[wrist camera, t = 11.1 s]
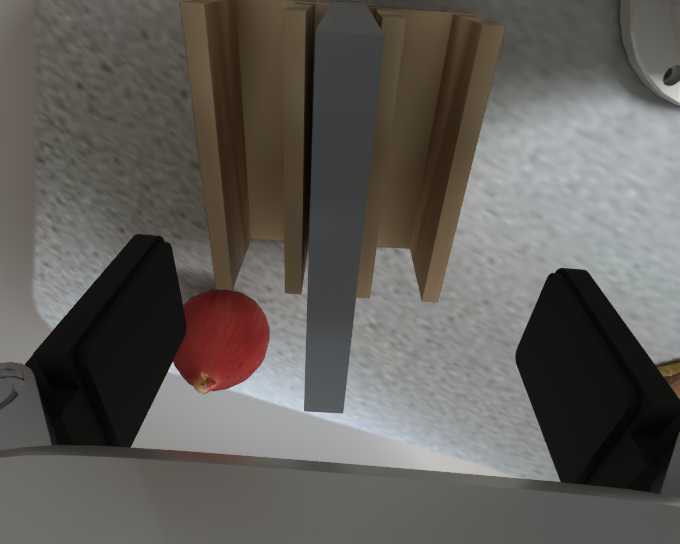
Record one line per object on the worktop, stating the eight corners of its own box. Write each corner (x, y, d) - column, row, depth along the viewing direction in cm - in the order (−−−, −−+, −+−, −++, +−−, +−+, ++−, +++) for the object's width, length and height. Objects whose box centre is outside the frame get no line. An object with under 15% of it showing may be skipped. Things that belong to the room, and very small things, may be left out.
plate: (365, 3, 19) (385, 36, 9) (345, 242, 25) (343, 413, 16) (333, 0, 19) (315, 30, 9) (321, 240, 25) (304, 411, 15)
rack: (476, 14, 20) (520, 27, 15) (429, 241, 26) (447, 303, 21) (211, -6, 19) (164, 1, 14) (232, 229, 26) (205, 288, 21)
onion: (267, 338, 31) (246, 436, 25) (187, 321, 30) (143, 416, 24) (284, 276, 28) (265, 369, 22) (195, 254, 27) (146, 344, 21)
